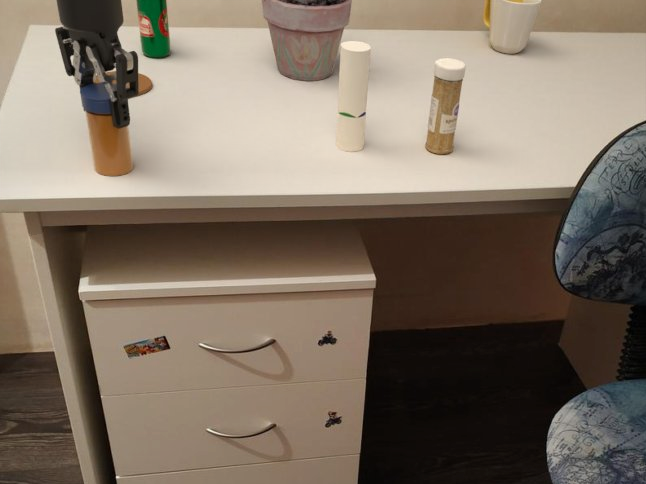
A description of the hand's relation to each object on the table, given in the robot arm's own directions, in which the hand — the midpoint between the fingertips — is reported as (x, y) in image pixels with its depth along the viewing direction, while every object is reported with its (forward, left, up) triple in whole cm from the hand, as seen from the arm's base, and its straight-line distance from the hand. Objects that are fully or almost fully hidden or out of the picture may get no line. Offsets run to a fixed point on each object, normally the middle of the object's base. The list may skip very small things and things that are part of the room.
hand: (106, 118), depth 108 cm
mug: (+92, -7, -7) cm, 93 cm away
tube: (+31, -17, -7) cm, 36 cm away
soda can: (+33, +31, -7) cm, 46 cm away
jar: (0, 0, -7) cm, 7 cm away
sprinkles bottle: (+41, -27, -7) cm, 50 cm away
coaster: (+19, +23, -7) cm, 31 cm away
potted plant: (+48, +8, -7) cm, 49 cm away
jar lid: (0, 0, +3) cm, 3 cm away
